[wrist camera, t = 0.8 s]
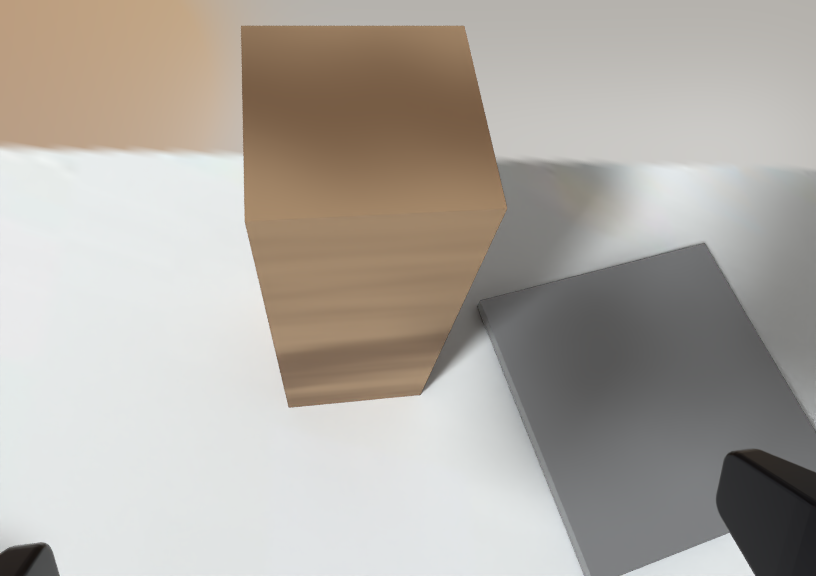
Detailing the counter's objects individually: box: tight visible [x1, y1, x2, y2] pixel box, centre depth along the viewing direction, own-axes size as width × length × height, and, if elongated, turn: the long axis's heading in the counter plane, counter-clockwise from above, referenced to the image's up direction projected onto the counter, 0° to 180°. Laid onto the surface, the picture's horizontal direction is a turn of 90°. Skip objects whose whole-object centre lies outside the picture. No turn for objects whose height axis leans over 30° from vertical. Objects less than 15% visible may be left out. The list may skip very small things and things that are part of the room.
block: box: [241, 26, 507, 408], centre depth 18 cm, size 5×5×13 cm
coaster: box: [477, 243, 816, 576], centre depth 24 cm, size 11×11×1 cm
